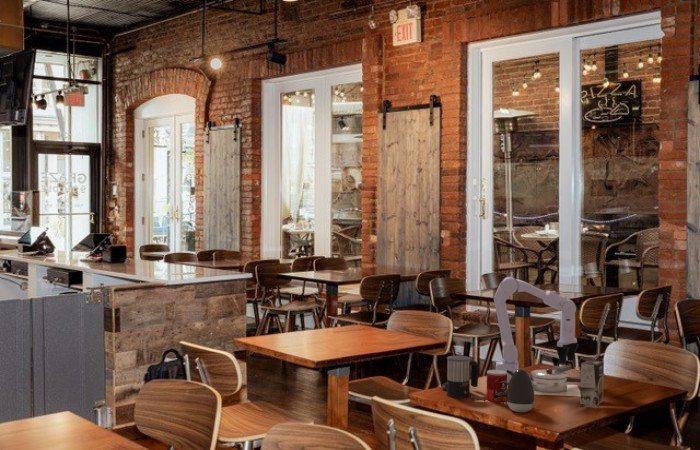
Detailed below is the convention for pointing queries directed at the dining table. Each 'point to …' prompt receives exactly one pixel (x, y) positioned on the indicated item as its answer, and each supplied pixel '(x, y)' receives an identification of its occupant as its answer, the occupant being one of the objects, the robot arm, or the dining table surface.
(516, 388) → the pump dispenser
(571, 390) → the board
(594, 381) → the coffee box
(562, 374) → the lid
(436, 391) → the dining table surface
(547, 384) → the pot
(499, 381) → the canned food
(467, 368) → the milk frother
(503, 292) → the robot arm
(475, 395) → the dining table surface
